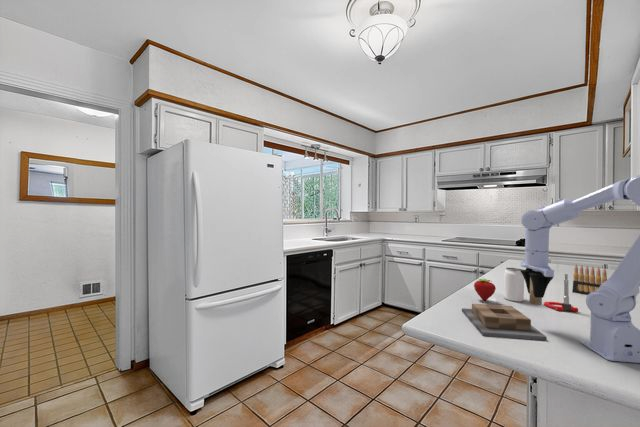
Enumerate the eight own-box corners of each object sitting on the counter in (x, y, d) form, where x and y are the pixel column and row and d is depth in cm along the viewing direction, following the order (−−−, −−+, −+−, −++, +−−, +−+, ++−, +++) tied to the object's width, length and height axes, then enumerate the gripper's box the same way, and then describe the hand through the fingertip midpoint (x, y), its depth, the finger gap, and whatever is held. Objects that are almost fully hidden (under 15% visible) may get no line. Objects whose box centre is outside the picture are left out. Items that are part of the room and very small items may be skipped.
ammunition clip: (572, 292, 126) (572, 264, 126) (573, 291, 127) (573, 263, 127) (606, 298, 118) (607, 268, 118) (607, 297, 119) (608, 268, 119)
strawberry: (492, 304, 109) (492, 277, 109) (471, 299, 115) (471, 274, 115) (497, 301, 113) (498, 275, 113) (477, 297, 119) (477, 272, 119)
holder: (546, 340, 80) (546, 325, 80) (482, 335, 83) (482, 321, 83) (512, 314, 100) (512, 302, 100) (461, 311, 103) (461, 299, 102)
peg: (543, 305, 88) (544, 278, 87) (532, 304, 88) (533, 277, 88) (538, 302, 91) (539, 276, 90) (527, 301, 91) (528, 275, 91)
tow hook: (539, 304, 112) (554, 311, 103) (538, 269, 112) (554, 274, 103) (563, 305, 111) (581, 312, 102) (563, 270, 111) (581, 275, 102)
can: (504, 300, 115) (505, 269, 114) (503, 296, 120) (503, 266, 120) (524, 303, 112) (525, 271, 111) (522, 298, 117) (523, 268, 117)
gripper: (511, 246, 97) (510, 288, 97) (534, 253, 83) (533, 301, 83) (535, 247, 96) (534, 289, 96) (563, 254, 81) (561, 303, 82)
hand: (535, 295), depth 89 cm, fingers closed on peg, 3 cm apart
